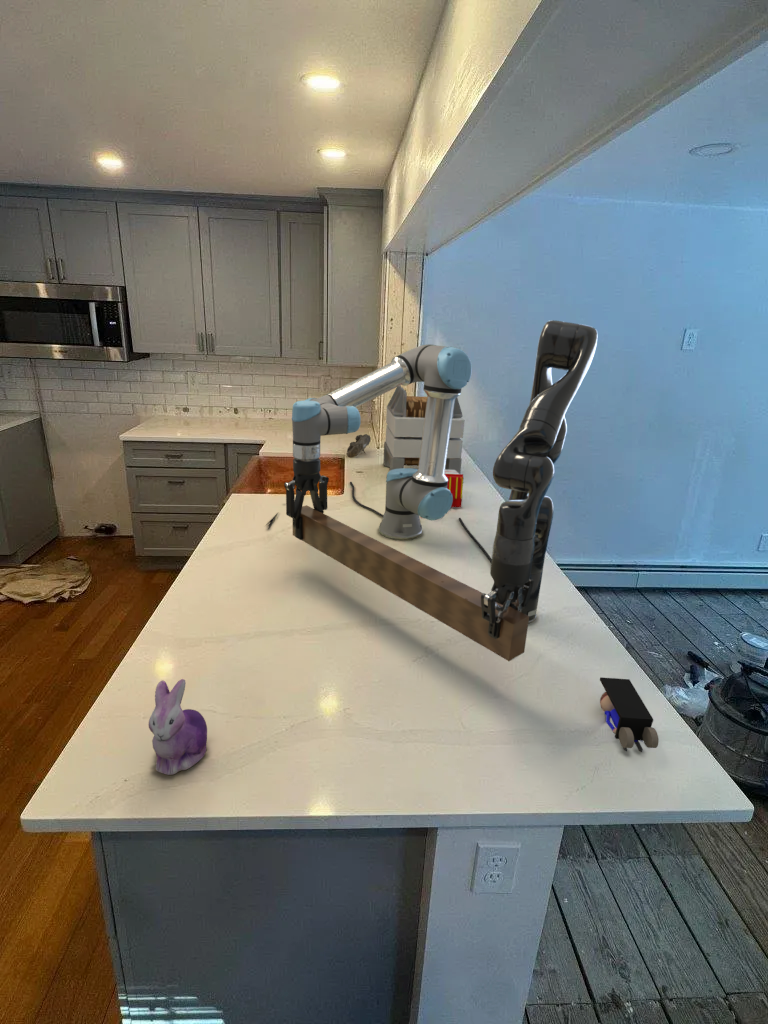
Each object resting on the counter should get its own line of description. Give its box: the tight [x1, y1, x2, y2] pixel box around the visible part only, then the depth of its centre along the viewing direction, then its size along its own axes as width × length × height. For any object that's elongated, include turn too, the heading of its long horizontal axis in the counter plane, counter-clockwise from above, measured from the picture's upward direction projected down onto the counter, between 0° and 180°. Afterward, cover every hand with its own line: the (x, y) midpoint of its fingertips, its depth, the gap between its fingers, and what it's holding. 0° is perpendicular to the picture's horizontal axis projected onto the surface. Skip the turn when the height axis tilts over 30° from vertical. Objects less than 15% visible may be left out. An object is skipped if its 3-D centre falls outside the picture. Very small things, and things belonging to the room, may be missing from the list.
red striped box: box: [444, 469, 464, 508], centre depth 240 cm, size 12×13×30 cm
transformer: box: [383, 385, 465, 474], centre depth 268 cm, size 34×33×41 cm
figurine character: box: [599, 676, 660, 753], centre depth 108 cm, size 7×8×15 cm
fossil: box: [346, 433, 372, 458], centre depth 305 cm, size 22×10×15 cm
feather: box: [265, 512, 279, 530], centre depth 210 cm, size 2×28×2 cm
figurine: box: [148, 678, 208, 776], centre depth 96 cm, size 9×10×15 cm
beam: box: [291, 504, 529, 662], centre depth 138 cm, size 78×5×8 cm, turn 41°
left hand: (307, 535), depth 164 cm, fingers closed on beam, 5 cm apart
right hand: (502, 631), depth 114 cm, fingers closed on beam, 5 cm apart
